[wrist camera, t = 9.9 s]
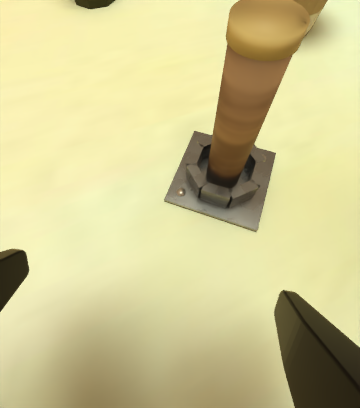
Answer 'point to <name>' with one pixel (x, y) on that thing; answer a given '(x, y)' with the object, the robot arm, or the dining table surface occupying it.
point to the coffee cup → (312, 9)
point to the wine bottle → (93, 3)
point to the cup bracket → (216, 195)
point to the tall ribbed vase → (251, 79)
